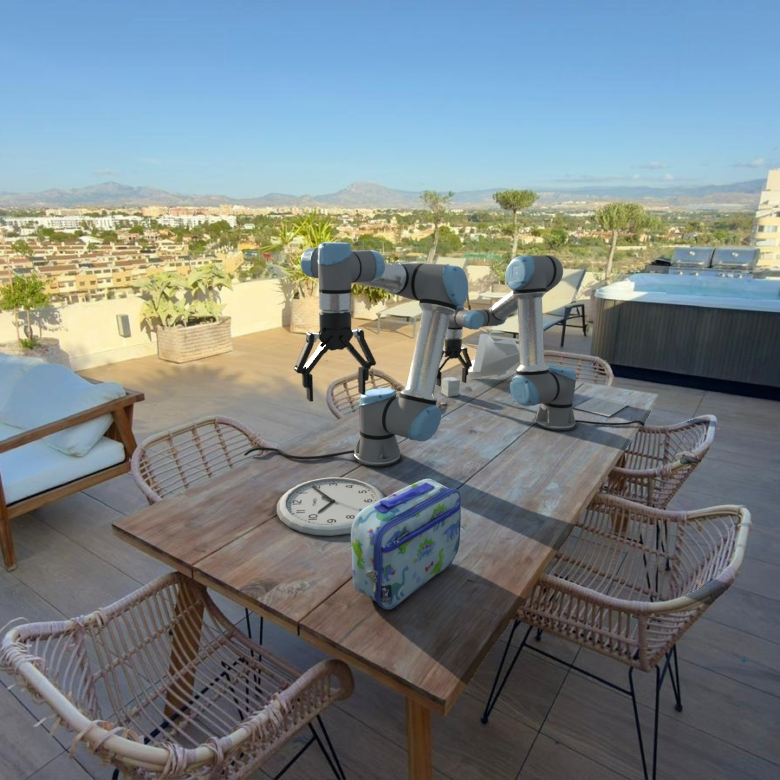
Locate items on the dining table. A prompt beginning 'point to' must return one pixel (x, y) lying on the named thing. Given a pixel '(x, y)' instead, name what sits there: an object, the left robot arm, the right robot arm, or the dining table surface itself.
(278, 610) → the dining table surface
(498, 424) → the dining table surface
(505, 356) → the white plastic object
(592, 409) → the invitation card
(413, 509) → the lunch box
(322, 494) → the wall clock
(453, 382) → the white printed box
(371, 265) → the left robot arm
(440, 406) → the fork
